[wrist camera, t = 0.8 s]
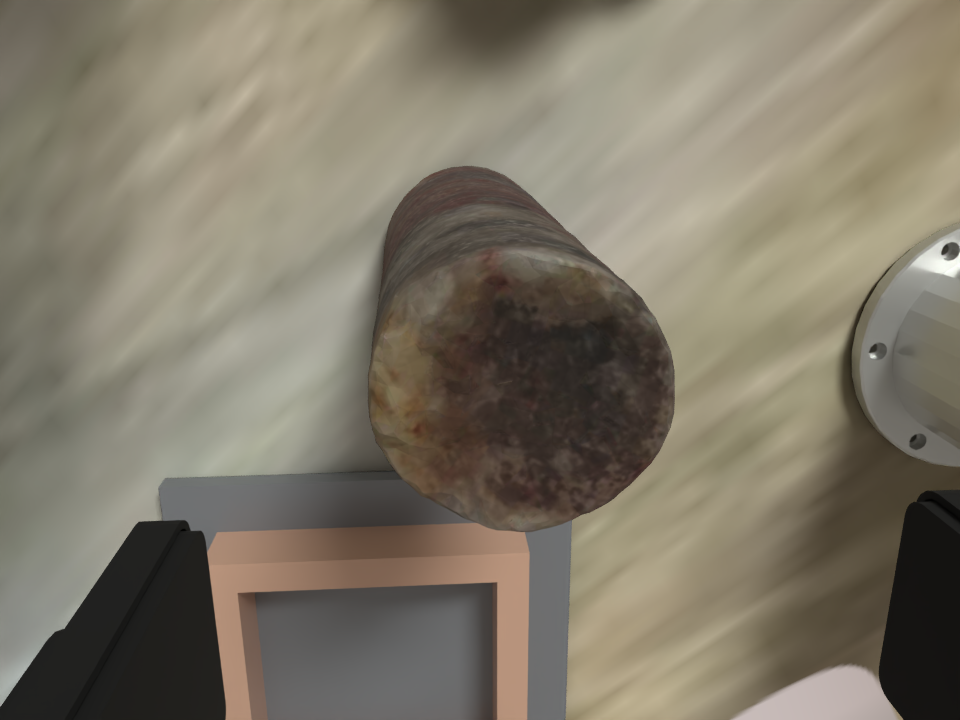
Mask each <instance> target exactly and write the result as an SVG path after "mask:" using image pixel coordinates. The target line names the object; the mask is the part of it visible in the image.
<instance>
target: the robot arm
mask: <svg viewBox="0 0 960 720" xmlns="http://www.w3.org/2000/svg"><path fill="white" fill-rule="evenodd" d="M942 248H943V249H942ZM871 347H872V348H871ZM870 348H871V349H870ZM852 378H853V383H854V387H855V392H856V397H857V399H858V401H859V403H860V405H861V408H862V410H863V412H864V414H865V416H866V417H867V419H868V420H869V421H870V422H871V424H872V425H873V426H874V428H875V429H876V430H877V432H879V433H880V434H881V435H882V436H883V437H885V438H886V439H887V440H888V441H890V442H891V443H892V444H893V445H895V446H896V447H898V448H899V449H901V450H902V451H903V452H905V453H906V454H908V455H910V456H912V457H915V458H917V459H920V460H923V461H925V462H928V463H931V464H937V465H943V466H949V467H960V222H959V223H956V224H954V225H951V226H949V227H946V228H944V229H941V230H939V231H937V232H936V233H934V234H932V235H931V236H929V237H928V238H926V239H924V240H923V241H921V242H919V243H918V244H916V245H915V246H914V247H913V248H911V249H910V250H909V251H908V252H907V253H906V254H905V255H903V256H902V257H901V258H900V259H899V260H898V261H896V262H895V264H894V265H893V266H892V267H891V268H890V270H889V271H888V272H887V273H886V274H885V276H884V277H883V278H882V279H881V280H880V281H879V283H878V284H877V286H876V288H875V289H874V291H873V293H872V294H871V296H870V298H869V300H868V301H867V303H866V305H865V307H864V310H863V312H862V315H861V317H860V320H859V323H858V325H857V328H856V332H855V338H854V343H853V348H852ZM879 679H880V683H881V687H882V690H883V692H884V694H885V696H886V697H887V699H888V700H889V702H890V703H891V704H892V705H893V707H894V708H895V709H896V710H897V712H898V713H899V714H900V716H901V717H902V718H903V719H904V720H960V490H940V491H925V492H924V493H922V494H921V495H920V496H919V498H918V499H917V502H913V503H911V504H910V505H909V506H908V508H907V510H906V513H905V518H904V524H903V530H902V536H901V542H900V548H899V553H898V559H897V565H896V571H895V577H894V583H893V588H892V594H891V600H890V606H889V612H888V618H887V624H886V629H885V635H884V641H883V647H882V653H881V659H880V665H879ZM0 720H226V700H225V692H224V684H223V676H222V668H221V660H220V652H219V644H218V636H217V628H216V620H215V612H214V603H213V595H212V587H211V579H210V571H209V563H208V555H207V547H206V540H205V536H204V533H203V532H202V531H191V529H190V527H189V524H188V522H187V521H186V520H170V521H144V522H138V523H137V524H136V525H135V527H134V528H133V529H132V531H131V532H130V534H129V535H128V537H127V538H126V540H125V541H124V543H123V544H122V546H121V547H120V548H119V550H118V551H117V553H116V554H115V556H114V557H113V559H112V560H111V562H110V563H109V565H108V566H107V567H106V569H105V570H104V572H103V573H102V575H101V576H100V578H99V579H98V581H97V582H96V584H95V585H94V586H93V588H92V589H91V591H90V592H89V594H88V595H87V597H86V598H85V600H84V601H83V603H82V604H81V605H80V607H79V608H78V610H77V611H76V613H75V614H74V616H73V617H72V619H71V620H70V622H69V623H68V624H67V626H66V627H65V629H62V630H59V631H57V632H55V633H54V634H53V635H52V636H51V637H50V638H49V639H48V640H47V641H46V643H45V644H44V646H43V647H42V649H41V650H40V651H39V653H38V654H37V656H36V657H35V658H34V660H33V661H32V663H31V664H30V666H29V667H28V668H27V670H26V671H25V673H24V674H23V676H22V677H21V678H20V680H19V681H18V683H17V684H16V686H15V687H14V688H13V690H12V691H11V693H10V694H9V696H8V697H7V698H6V700H5V701H4V703H3V704H2V705H1V707H0Z"/></svg>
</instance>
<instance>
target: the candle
mask: <svg viewBox="0 0 960 720" xmlns="http://www.w3.org/2000/svg"><path fill="white" fill-rule="evenodd" d="M674 401H675V386H674V365H673V360H672V355H671V351H670V348H669V346H668V344H667V341H666V339H665V337H664V335H663V333H662V331H661V329H660V327H659V325H658V323H657V320H656V318H655V317H654V315H653V314H652V313H651V312H650V310H649V309H648V307H647V306H646V304H645V303H644V301H643V299H642V298H641V297H640V296H639V295H638V294H637V293H636V292H635V291H634V290H633V289H632V288H631V287H630V286H629V285H627V284H626V283H625V282H624V281H623V280H622V279H620V278H619V277H618V276H616V275H615V274H614V273H613V272H612V271H611V270H610V269H609V268H608V267H607V266H606V265H605V264H604V263H602V262H601V261H600V260H599V259H598V258H597V257H595V256H594V255H593V254H592V253H591V252H589V251H588V250H587V249H586V248H585V247H584V246H583V245H582V244H581V242H580V241H579V240H578V239H577V238H576V237H575V236H573V235H572V234H571V233H569V232H568V231H566V230H565V229H564V228H563V226H562V225H561V224H560V223H559V222H558V221H557V220H556V219H555V218H553V217H552V216H551V215H550V214H549V213H548V212H547V211H546V210H545V209H544V208H543V207H542V206H541V205H540V204H539V203H538V202H537V201H536V200H535V199H534V198H533V197H532V196H531V195H529V194H528V193H527V192H526V191H525V190H524V189H522V188H521V187H520V186H519V185H517V184H516V183H515V182H513V181H512V180H511V179H509V178H508V177H506V176H505V175H503V174H500V173H498V172H495V171H492V170H490V169H487V168H482V167H475V166H462V167H452V168H447V169H443V170H441V171H439V172H436V173H433V174H431V175H429V176H427V177H426V178H424V179H423V180H422V181H421V182H419V183H418V184H417V185H416V186H415V187H414V188H413V189H412V190H411V191H410V192H409V193H408V194H407V195H406V196H405V197H404V199H403V200H402V201H401V203H400V204H399V205H398V207H397V209H396V210H395V212H394V214H393V216H392V218H391V221H390V223H389V227H388V232H387V237H386V243H385V249H384V260H383V273H382V280H381V289H380V294H379V302H378V309H377V316H376V322H375V327H374V332H373V341H372V354H371V363H370V368H369V373H368V406H369V417H370V421H371V425H372V429H373V432H374V435H375V440H376V443H377V444H378V445H379V447H380V448H381V449H382V451H383V453H384V454H385V456H386V458H387V460H388V461H389V463H390V464H391V466H392V467H393V469H394V470H395V471H396V473H397V474H398V475H399V477H400V478H401V479H402V480H403V481H405V482H406V483H407V484H408V485H410V486H411V487H412V488H413V489H414V490H415V491H416V492H417V493H418V494H419V495H420V496H422V497H425V498H428V499H430V500H432V501H433V502H435V503H436V504H438V505H440V506H442V507H444V508H446V509H448V510H450V511H452V512H453V513H455V514H457V515H459V516H460V517H462V518H465V519H467V520H470V521H473V522H476V523H478V524H480V525H482V526H485V527H487V528H490V529H494V530H501V531H516V532H533V531H537V530H542V529H546V528H551V527H554V526H558V525H561V524H564V523H566V522H568V521H571V520H573V519H574V518H576V517H578V516H580V515H582V514H586V513H589V512H592V511H594V510H595V509H597V508H599V507H601V506H603V505H605V504H607V503H608V502H610V501H611V500H612V499H614V498H615V497H616V496H617V495H618V494H619V493H620V492H622V491H623V490H624V489H625V488H626V487H628V486H629V485H630V484H631V483H632V482H633V481H634V480H635V479H636V478H637V477H638V476H639V475H640V474H641V473H642V472H643V471H644V470H645V469H646V468H647V467H648V466H649V465H650V464H651V463H652V461H653V460H654V458H655V457H656V455H657V454H658V452H659V451H660V449H661V447H662V445H663V443H664V441H665V438H666V436H667V434H668V432H669V430H670V428H671V423H672V419H673V415H674Z"/></svg>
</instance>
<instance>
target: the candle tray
mask: <svg viewBox="0 0 960 720" xmlns="http://www.w3.org/2000/svg"><path fill="white" fill-rule="evenodd" d="M159 495H160V503H161V510H162V517H163V521H170V520H186V521H187V522H188V524H189V527H190V529H191V531H202V532H203V533H204V536H205V540H206V547H207V555H208V563H209V571H210V579H211V587H212V595H213V603H214V612H215V620H216V628H217V636H218V644H219V652H220V660H221V668H222V676H223V684H224V692H225V700H226V720H565V717H566V686H567V654H568V623H569V592H570V560H571V529H572V520H571V521H568V522H566V523H564V524H561V525H558V526H554V527H551V528H546V529H542V530H537V531H533V532H516V531H501V530H494V529H490V528H487V527H485V526H482V525H480V524H478V523H476V522H473V521H470V520H467V519H465V518H462V517H460V516H459V515H457V514H455V513H453V512H452V511H450V510H448V509H446V508H444V507H442V506H440V505H438V504H436V503H435V502H433V501H432V500H430V499H428V498H425V497H422V496H420V495H419V494H418V493H417V492H416V491H415V490H414V489H413V488H412V487H411V486H410V485H408V484H407V483H406V482H405V481H403V480H402V479H401V478H400V477H399V475H398V474H397V473H396V471H380V472H349V473H318V474H287V475H257V476H226V477H195V478H165V479H164V480H163V482H162V483H161V485H160V486H159Z"/></svg>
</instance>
